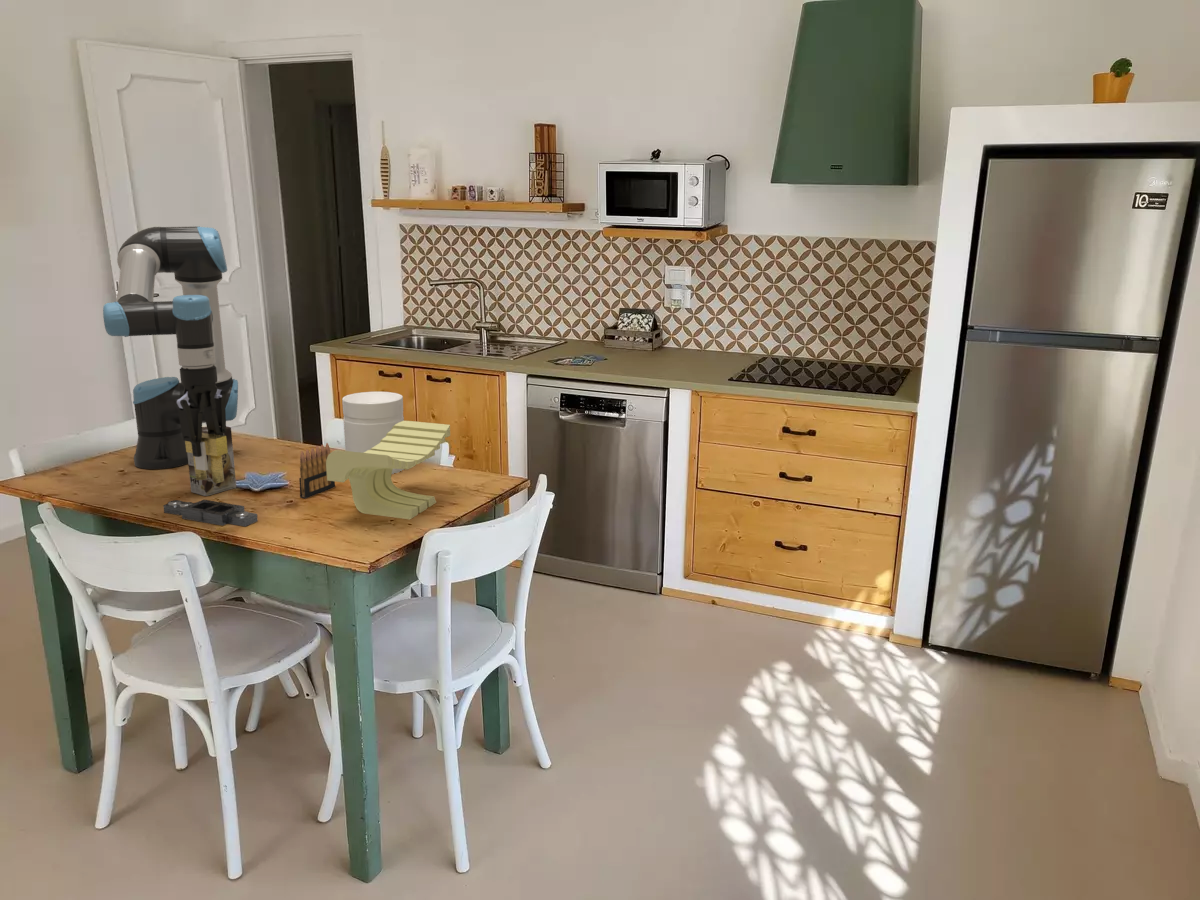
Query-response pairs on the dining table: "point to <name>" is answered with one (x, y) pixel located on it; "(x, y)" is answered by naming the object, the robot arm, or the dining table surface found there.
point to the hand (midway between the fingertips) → (208, 467)
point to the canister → (370, 419)
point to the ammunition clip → (314, 472)
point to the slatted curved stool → (388, 469)
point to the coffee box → (208, 485)
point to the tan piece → (211, 456)
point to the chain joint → (211, 512)
